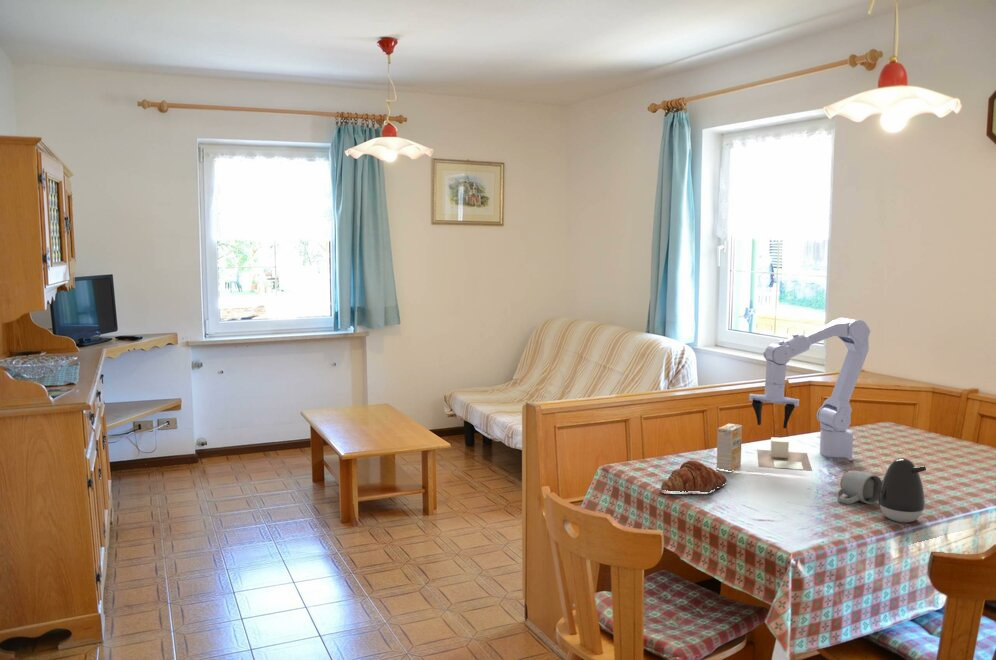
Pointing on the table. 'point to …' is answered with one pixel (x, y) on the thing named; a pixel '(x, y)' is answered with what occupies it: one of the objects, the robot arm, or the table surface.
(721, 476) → the pastry
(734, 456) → the supplement box
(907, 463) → the pump dispenser
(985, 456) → the table surface
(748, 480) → the table surface
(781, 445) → the off-white matte cube
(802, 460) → the walnut board
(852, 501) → the ceramic mug
